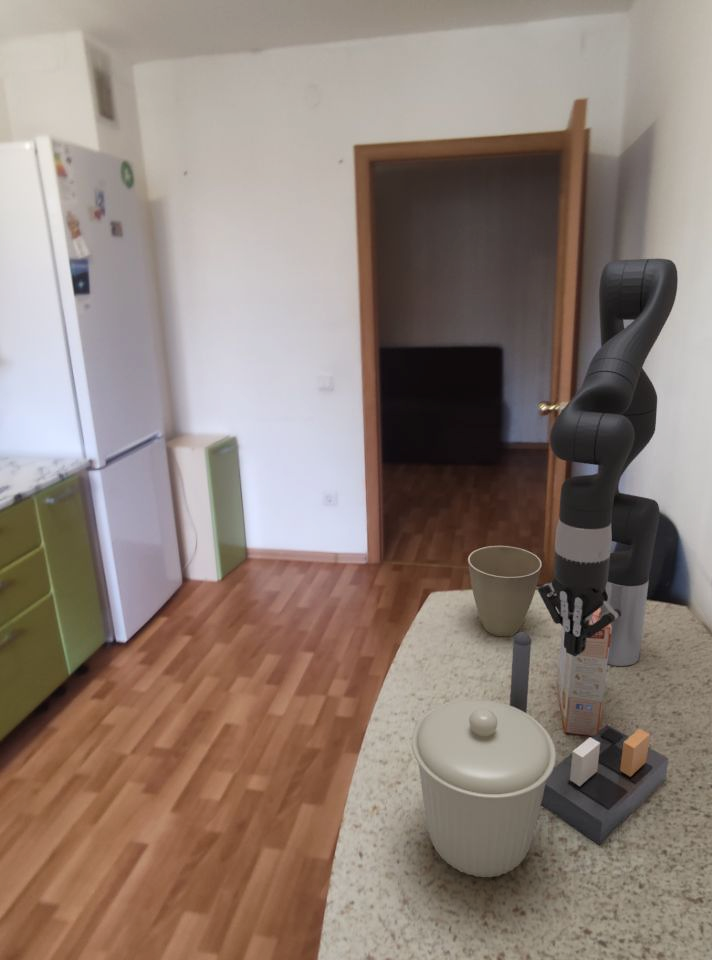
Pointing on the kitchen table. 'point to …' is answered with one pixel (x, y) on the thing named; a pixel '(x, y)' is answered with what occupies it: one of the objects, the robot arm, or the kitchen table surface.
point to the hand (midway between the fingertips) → (573, 652)
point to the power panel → (603, 788)
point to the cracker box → (583, 682)
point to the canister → (482, 782)
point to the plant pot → (503, 586)
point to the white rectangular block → (584, 761)
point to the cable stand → (520, 671)
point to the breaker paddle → (634, 752)
